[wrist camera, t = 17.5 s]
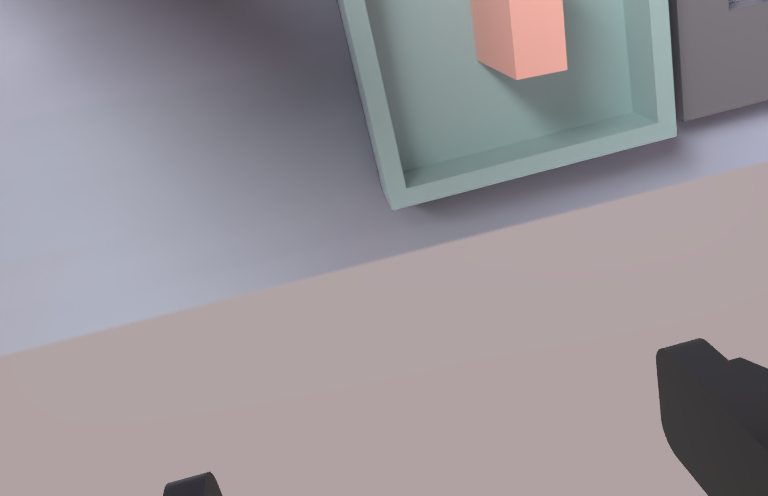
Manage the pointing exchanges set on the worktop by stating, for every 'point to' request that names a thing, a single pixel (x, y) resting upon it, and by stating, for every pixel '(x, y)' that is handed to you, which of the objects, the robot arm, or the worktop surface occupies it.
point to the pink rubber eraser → (520, 36)
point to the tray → (503, 94)
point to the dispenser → (718, 55)
